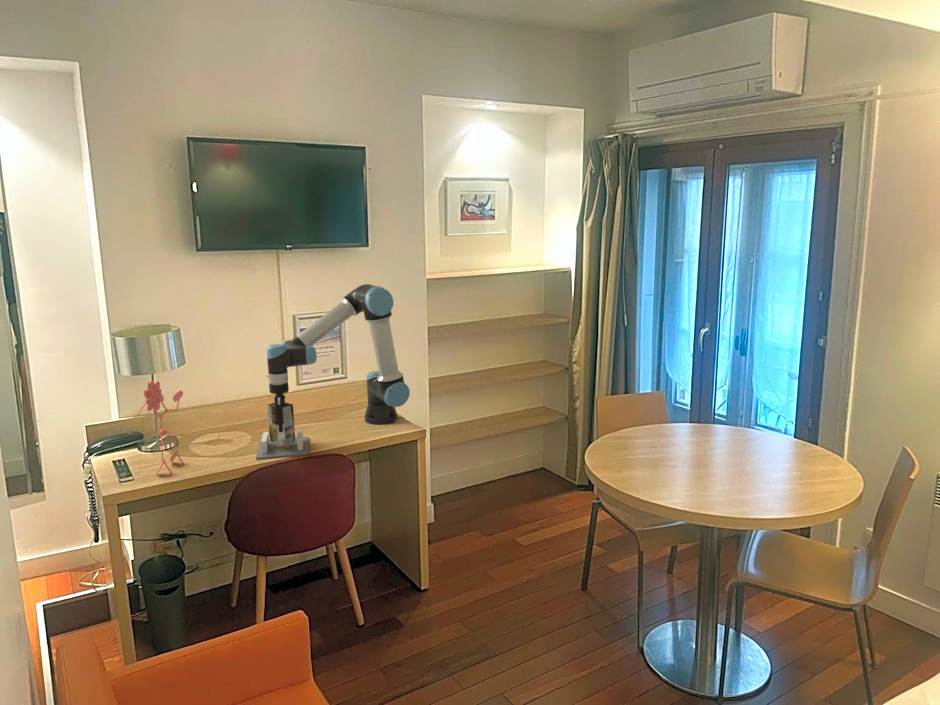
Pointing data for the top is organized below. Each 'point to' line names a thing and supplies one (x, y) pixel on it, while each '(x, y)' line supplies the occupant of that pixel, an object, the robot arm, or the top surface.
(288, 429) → the coffee box
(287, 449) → the collar base
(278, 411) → the robot arm
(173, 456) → the figurine
